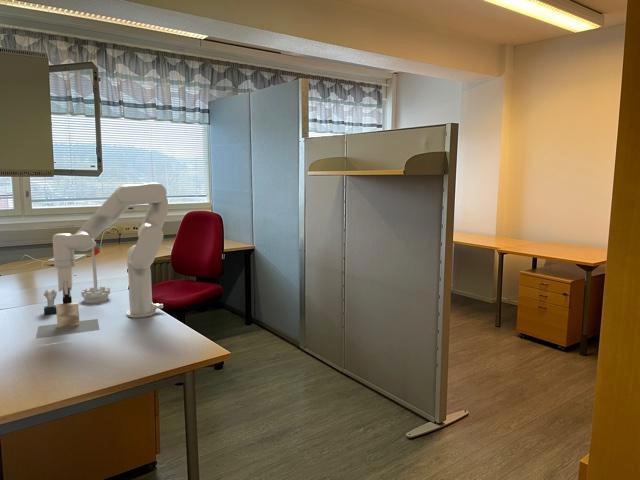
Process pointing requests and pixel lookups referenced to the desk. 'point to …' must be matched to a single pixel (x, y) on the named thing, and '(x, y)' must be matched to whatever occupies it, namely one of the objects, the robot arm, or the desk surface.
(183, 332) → the desk surface
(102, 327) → the desk surface
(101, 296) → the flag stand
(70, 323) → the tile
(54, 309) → the watch
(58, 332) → the mat
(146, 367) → the desk surface
